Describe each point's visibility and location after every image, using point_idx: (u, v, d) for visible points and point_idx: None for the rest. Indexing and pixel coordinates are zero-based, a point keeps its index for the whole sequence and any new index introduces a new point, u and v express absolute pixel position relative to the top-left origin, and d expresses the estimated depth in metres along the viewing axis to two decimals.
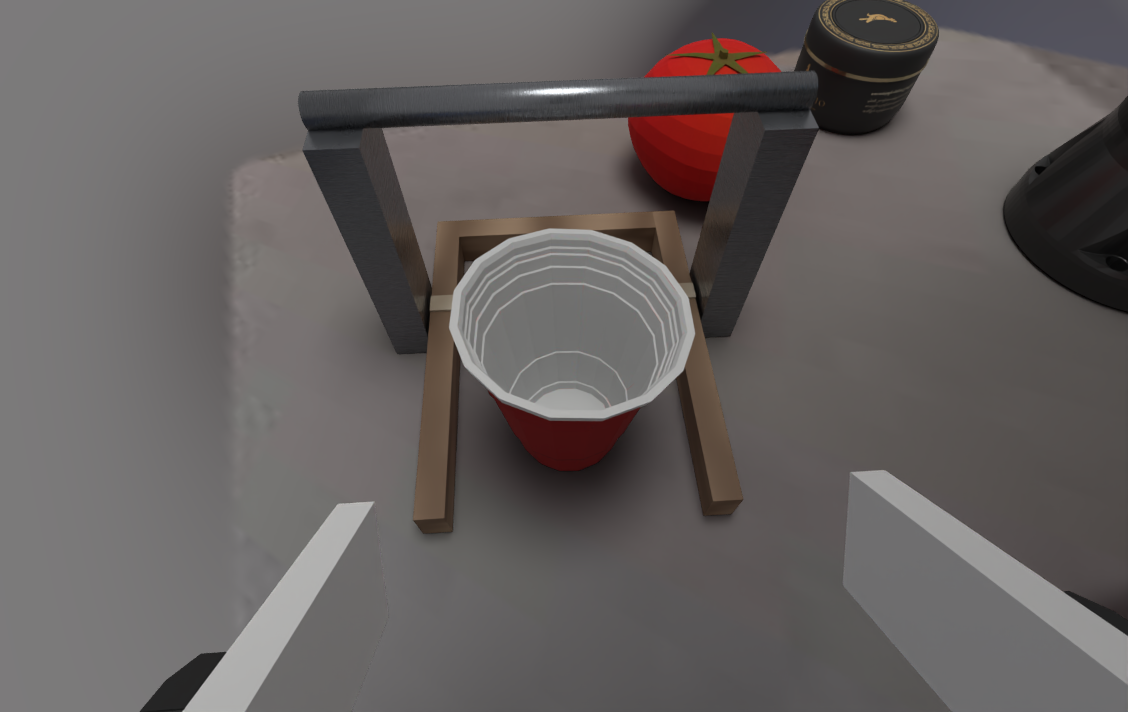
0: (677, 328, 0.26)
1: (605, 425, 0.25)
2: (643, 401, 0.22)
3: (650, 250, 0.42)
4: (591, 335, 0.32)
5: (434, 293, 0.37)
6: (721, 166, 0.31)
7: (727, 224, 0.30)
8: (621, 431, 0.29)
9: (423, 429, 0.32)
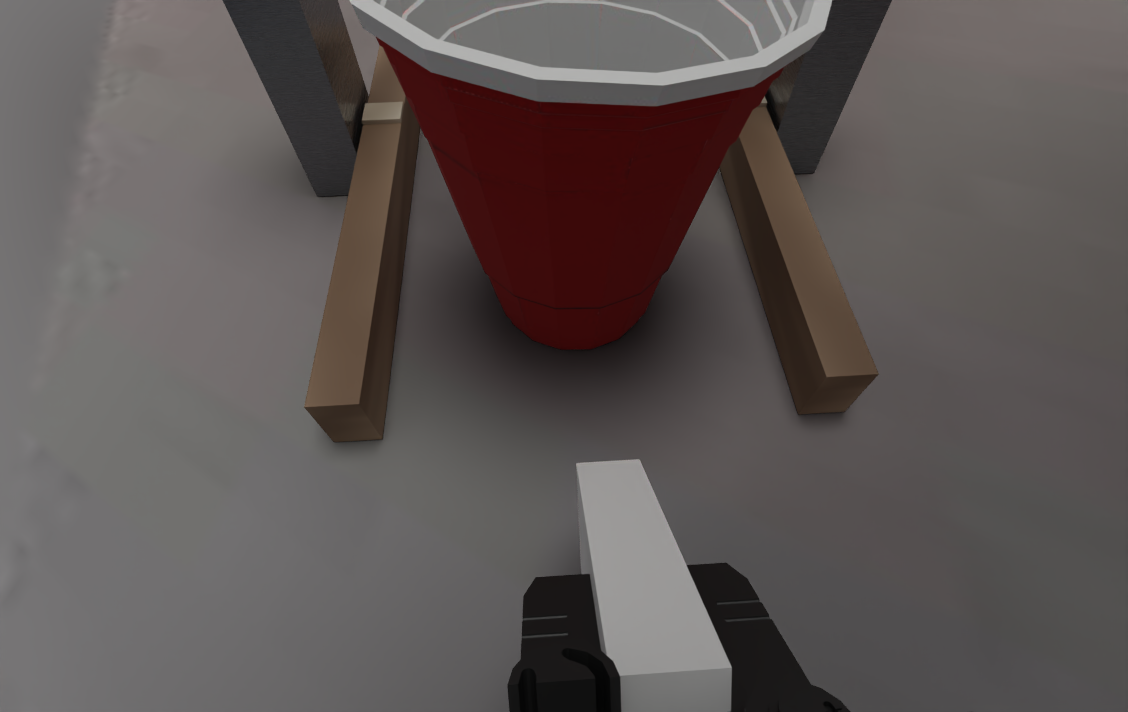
0: (790, 1, 0.13)
1: (652, 179, 0.12)
2: (749, 65, 0.10)
3: None
4: None
5: (371, 102, 0.25)
6: None
7: None
8: (668, 251, 0.17)
9: (336, 274, 0.19)
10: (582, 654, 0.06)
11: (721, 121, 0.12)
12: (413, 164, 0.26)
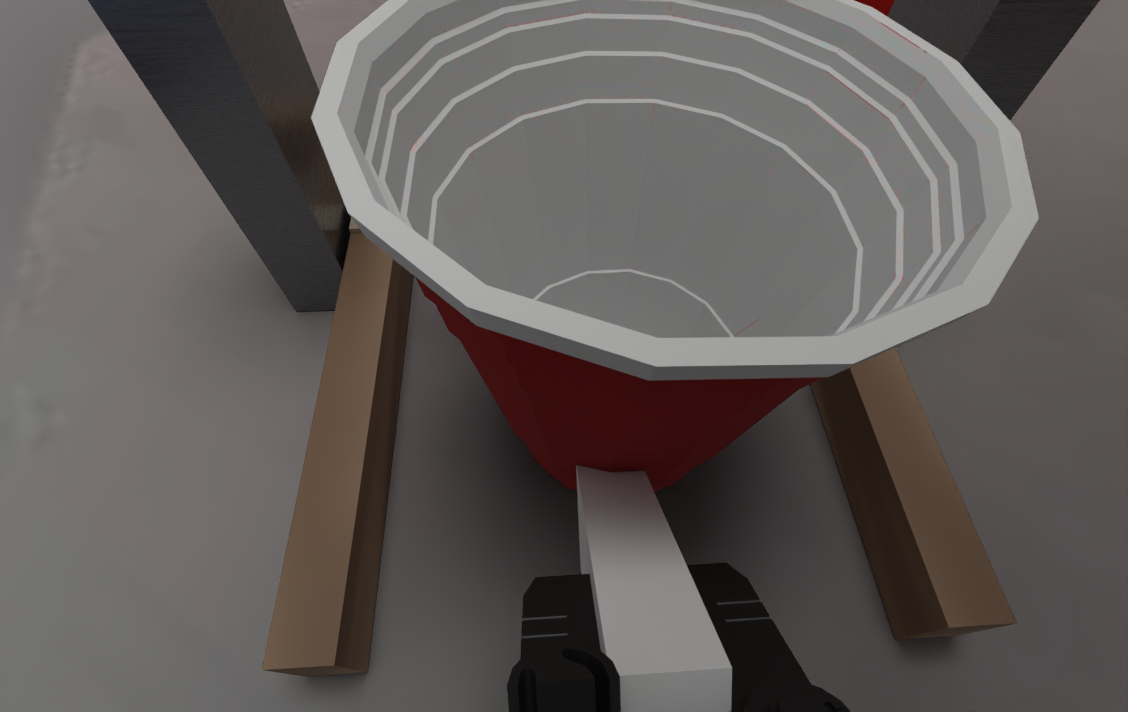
0: (941, 137, 0.10)
1: (771, 399, 0.09)
2: (963, 305, 0.07)
3: None
4: (660, 230, 0.16)
5: None
6: None
7: (975, 7, 0.14)
8: None
9: (311, 454, 0.15)
10: (582, 654, 0.06)
11: None
12: None
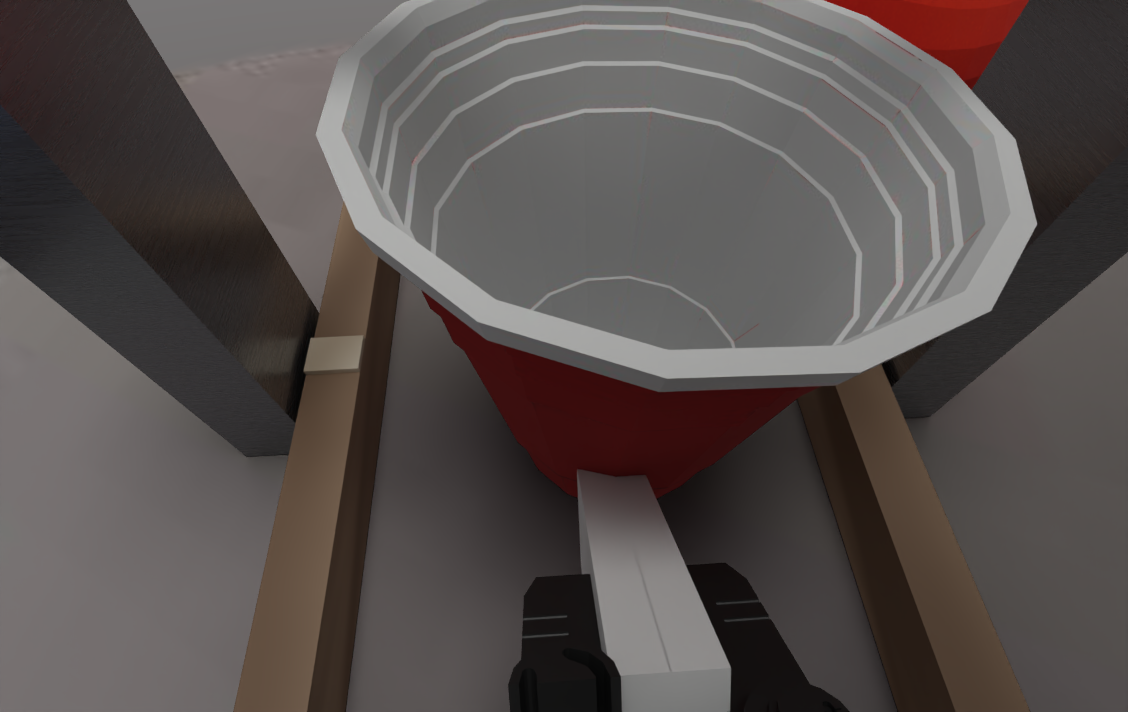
0: (937, 144, 0.10)
1: (776, 406, 0.09)
2: (966, 312, 0.07)
3: None
4: (658, 237, 0.16)
5: (321, 332, 0.18)
6: (1037, 8, 0.11)
7: (1070, 162, 0.11)
8: None
9: (243, 698, 0.12)
10: (583, 654, 0.06)
11: None
12: (381, 402, 0.19)
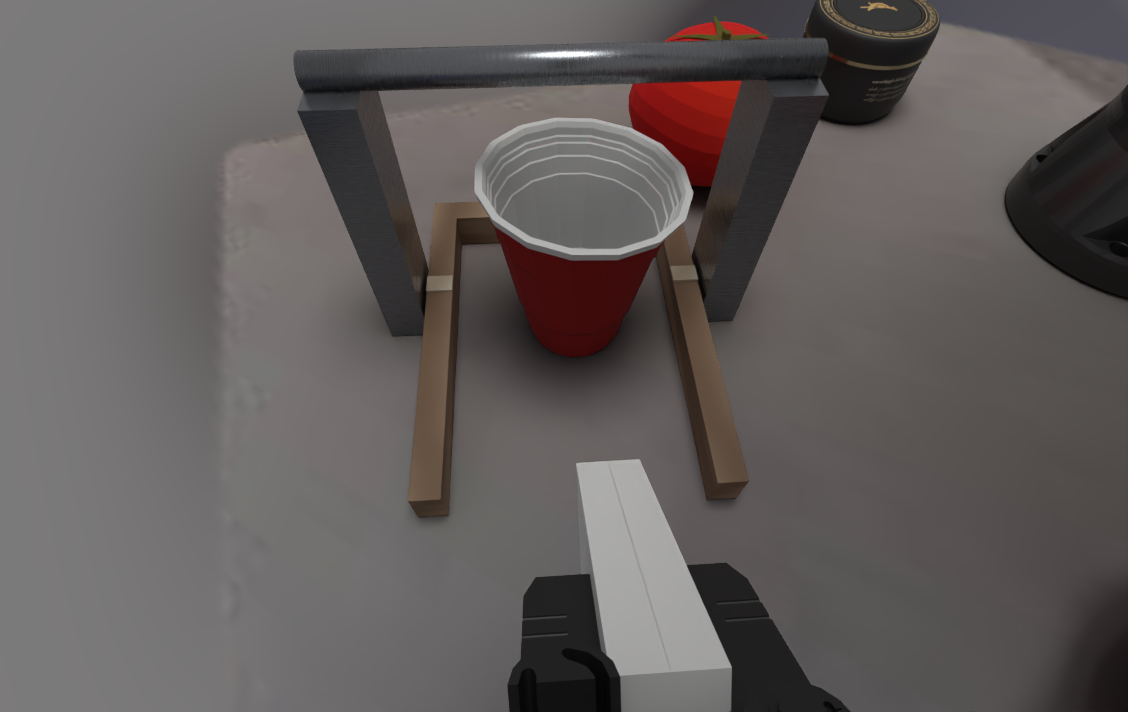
0: (676, 193, 0.29)
1: (617, 279, 0.28)
2: (653, 242, 0.25)
3: None
4: (593, 228, 0.35)
5: (431, 274, 0.36)
6: (726, 141, 0.30)
7: (733, 199, 0.30)
8: (627, 303, 0.32)
9: (419, 409, 0.31)
10: (582, 654, 0.06)
11: (645, 256, 0.27)
12: (457, 312, 0.37)
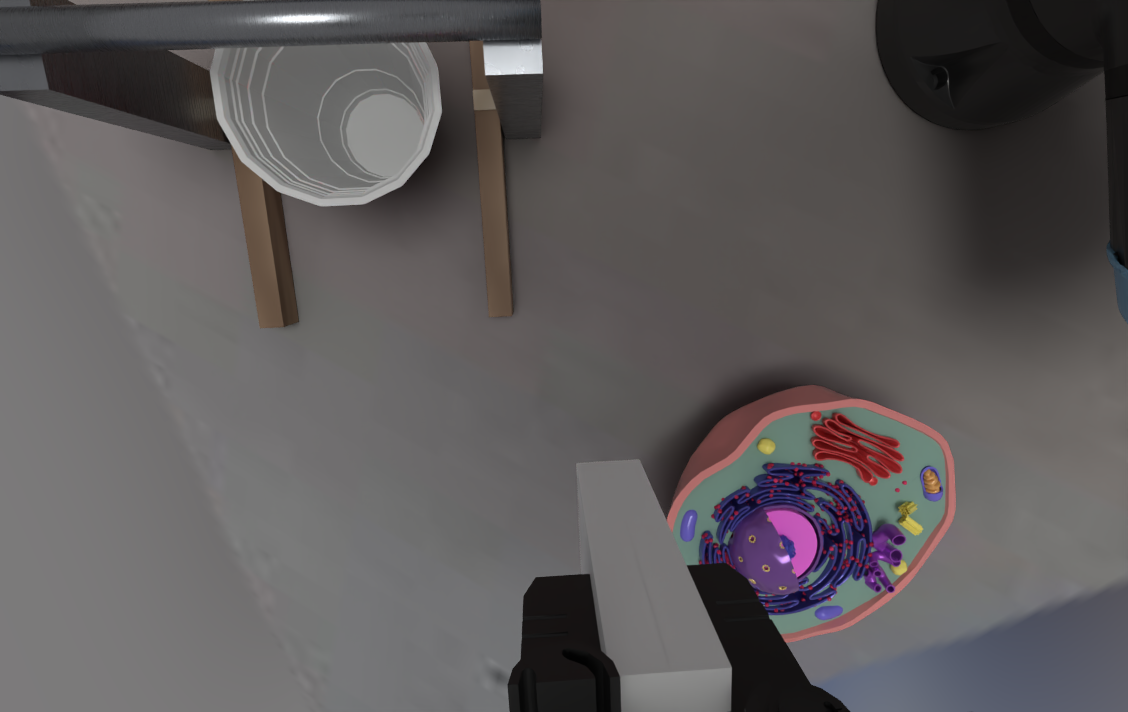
0: (430, 99, 0.29)
1: None
2: (395, 186, 0.28)
3: None
4: (381, 60, 0.33)
5: None
6: None
7: None
8: None
9: (250, 252, 0.37)
10: (582, 654, 0.06)
11: None
12: None
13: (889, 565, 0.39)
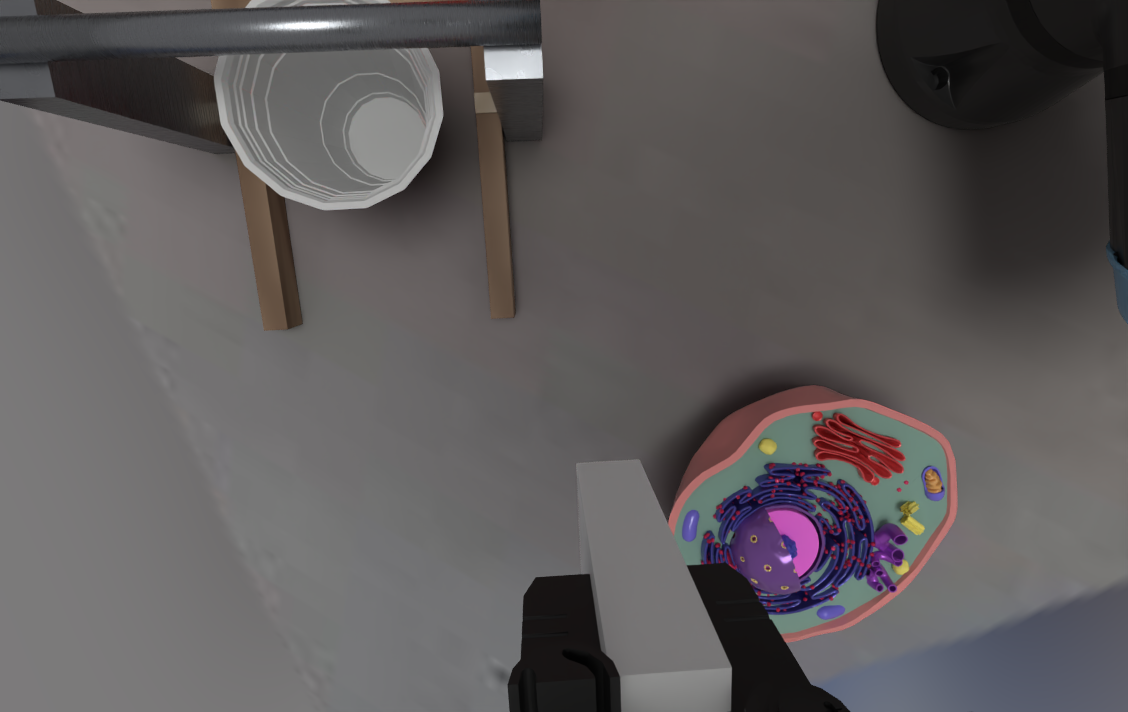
0: (432, 103, 0.29)
1: None
2: (397, 190, 0.29)
3: None
4: (382, 64, 0.33)
5: None
6: None
7: None
8: None
9: (254, 255, 0.38)
10: (582, 654, 0.06)
11: None
12: None
13: (891, 565, 0.39)
